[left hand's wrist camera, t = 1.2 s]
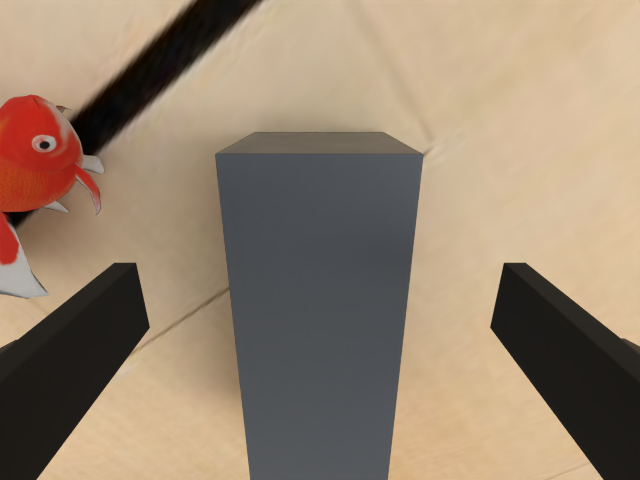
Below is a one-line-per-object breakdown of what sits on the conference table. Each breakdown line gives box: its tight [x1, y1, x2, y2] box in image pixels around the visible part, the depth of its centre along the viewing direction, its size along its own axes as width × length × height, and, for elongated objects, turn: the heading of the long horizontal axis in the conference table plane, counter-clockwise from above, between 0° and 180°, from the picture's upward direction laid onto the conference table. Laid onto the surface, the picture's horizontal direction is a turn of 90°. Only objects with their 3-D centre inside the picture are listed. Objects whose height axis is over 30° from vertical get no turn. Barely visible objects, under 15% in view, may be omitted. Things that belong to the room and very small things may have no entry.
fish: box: [0, 95, 104, 299], centre depth 21 cm, size 11×16×10 cm
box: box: [215, 132, 423, 480], centre depth 23 cm, size 23×9×10 cm, turn 0°
